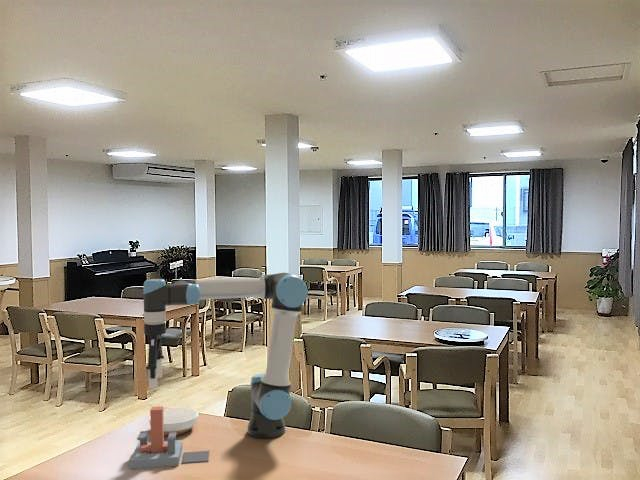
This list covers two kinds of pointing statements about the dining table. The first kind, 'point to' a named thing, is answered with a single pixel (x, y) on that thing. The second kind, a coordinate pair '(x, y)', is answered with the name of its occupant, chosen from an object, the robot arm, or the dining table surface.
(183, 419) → the bowl
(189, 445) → the dining table surface
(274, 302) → the robot arm
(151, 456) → the eye block
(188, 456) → the mat
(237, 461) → the dining table surface
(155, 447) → the orange tabbed bar
